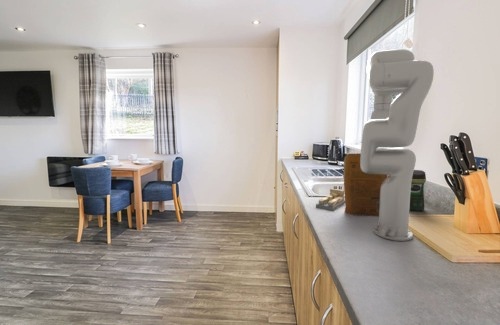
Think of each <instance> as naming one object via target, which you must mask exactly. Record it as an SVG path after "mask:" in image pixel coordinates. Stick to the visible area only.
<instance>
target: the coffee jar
mask: <svg viewBox="0 0 500 325" xmlns="http://www.w3.org/2000/svg"><path fill="white" fill-rule="evenodd" d="M426 176H427V175H426V171H424V170H421V169H414V171H413V175H412V181H411V193H410V207H409V211H410V212H411V211H413V212H422V211H424V210H425V193H424V190H425V189H424V187H425V184H426V181H427V178H426Z"/></svg>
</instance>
